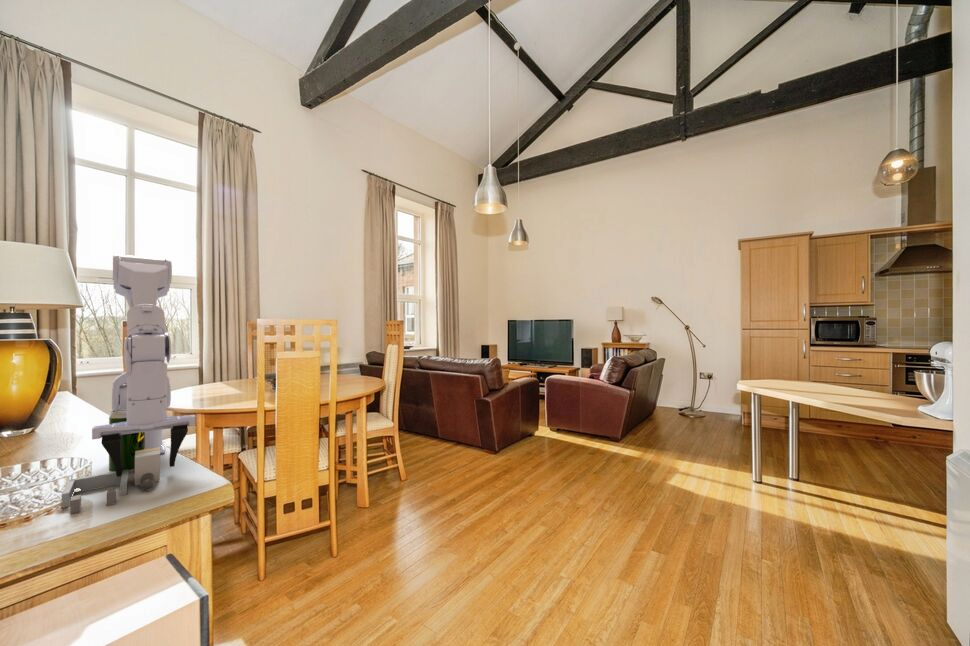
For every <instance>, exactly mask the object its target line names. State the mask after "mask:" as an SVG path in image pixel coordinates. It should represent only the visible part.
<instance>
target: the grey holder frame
mask: <svg viewBox="0 0 970 646" xmlns="http://www.w3.org/2000/svg"><path fill="white" fill-rule="evenodd" d="M117 485H120V486H119V488H120V489H119V490H120V491H119V492H120V493H119V495H120V497H122V496H127V495H128V485H129V473H128V469H127V470H122V476H119V477H117V475H116V472H110V471H109V472H106V473H100V474H95V475H94V474H93V475H89V476H82V477H78V478H73V479H67V482H66V485H65V487H64V489H63V491H62V493H61V509H64V508H69V507H70V509H69V513H70V514H71V515H72V514H76V513H80V512H81V509H82V494H77V495H74V496H72V494H73V492H74V489H76V488H80V489H81V492H87V491H91V490H95V489H102V488H106V487H113V486H117ZM116 489H117V488H116V487H113V488H108V489H107V490H106V499H105V500H106V507H108V506H112V505H116V499H117V497H116V496H117V495H116V493H117V491H116ZM71 497H72V498H71Z"/></svg>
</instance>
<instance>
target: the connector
mask: <svg viewBox="0 0 970 646" xmlns="http://www.w3.org/2000/svg"><path fill="white" fill-rule="evenodd" d="M160 478H161V454H160V447H157V448H151V449H144V450H138V451H135V472H134V486H138V485H139V486H140V488H141V489H140V490H142V491H150V490H151V489H153V487H154V486H155V482H159V480H161V479H160Z"/></svg>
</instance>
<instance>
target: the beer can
mask: <svg viewBox="0 0 970 646" xmlns="http://www.w3.org/2000/svg"><path fill="white" fill-rule="evenodd" d="M108 419H109V420H108V424H114V423H120V422H126V421H127V408H123V409H117V410H113V411H112V410H111V411H110V415H109V417H108ZM136 430H137V429H136ZM145 433H146V432H139V433H131V434H124V435H122V446H121V456H122V466H123V470H127V469H128V474H132V473H135V451H138V450H144V449H145ZM108 471H109V473H110V472H116V470H115V466H114V464H113V461H112V459H111V457H110V455H109V454H108Z"/></svg>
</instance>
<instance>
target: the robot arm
mask: <svg viewBox="0 0 970 646" xmlns="http://www.w3.org/2000/svg"><path fill="white" fill-rule="evenodd" d="M172 267H173V266H172V260H170V258H168V257H167V258H159V257H147V256H138V255H137V256H136V255H127V254H120V253H115V254H114V255H113V256H112V281H113V289H114V291H115V292H114V293H116V295H120V296H123V297H124V298H125V300H126V301H127V305H128V307H129V308H128V310H127V312H126V337H125V338H124V345H123V349H124V350H123V354H124V355H123V357H124V358H123V361H124V364H125V370H126V371H125V372H123V373H121V374H119V375H118V376H116V377H114V380H113V381H112V388H111V411H113V410H117V409H123V408H127V421H126V422H120V423H114V424H109V423H108V424H102V425H95V426H93V427H92V428H91V439H92V440H99V439H101V442H100V443H101V445H102V447H103V448H104V449H105V451H106V453H107V454H108V456H109V455H110V457H111V459H112V461H113V464H114V466H115V470H116V475H117V477H119V476H122V470H123V466H122V456H121V446H122V435H124V434H131V433H139V432H146V433H145V449H151V448H157V447H160V455H161V454H165V453H166V449H165V448H164V449H163V447H162V446H164V447H165V441H164V440H163V430H167V429H170V451H169V459H168V460H169V468H172V467H175V462H176V458H177V455H178V453H179V449H180V448H181V445H182V444H183V441H184V439H185V438H186V436H187V435H188V432H189V428H188V427H196V415H195V414H190V415H189V414H188V415H174V416H170V415H169V416H167V411H168V408H169V407H170V406H171V401H172V399H171V398H172V397H171V395H172V394H171V393H172V392H171V391H172V389H171V384H170V383H171V382H170V377H169V376H168V364H169V363H170V360H171V356H172V342H171V341H172V340H171V338H170V334H169V331H168V329H166V317H165V315H166V314H165V312H164V310H163V308H161V307H160V306H158V305H157V302H158V299H159V298H163V297H166V296H168V292H169V291H170V288H171V287H170V286H171V284H172V279H173V278H172V277H173V276H172V275H173V268H172ZM165 358H166V362H167V363H165ZM125 384H126V385H125ZM136 429H137V430H136ZM161 445H162V446H161Z"/></svg>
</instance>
